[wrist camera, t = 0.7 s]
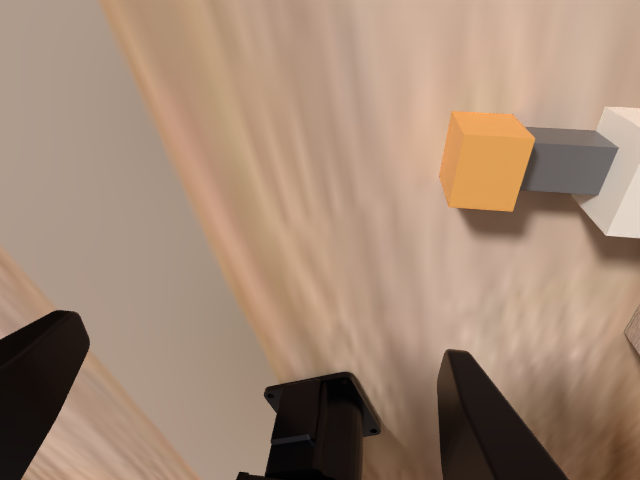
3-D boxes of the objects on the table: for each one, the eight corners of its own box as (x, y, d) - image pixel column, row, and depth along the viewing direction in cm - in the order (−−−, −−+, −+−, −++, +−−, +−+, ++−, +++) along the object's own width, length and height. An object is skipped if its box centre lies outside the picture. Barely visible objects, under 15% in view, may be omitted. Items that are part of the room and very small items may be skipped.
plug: (437, 186, 19) (448, 224, 17) (453, 99, 17) (469, 125, 14) (663, 201, 19) (716, 243, 16) (711, 111, 16) (782, 142, 14)
